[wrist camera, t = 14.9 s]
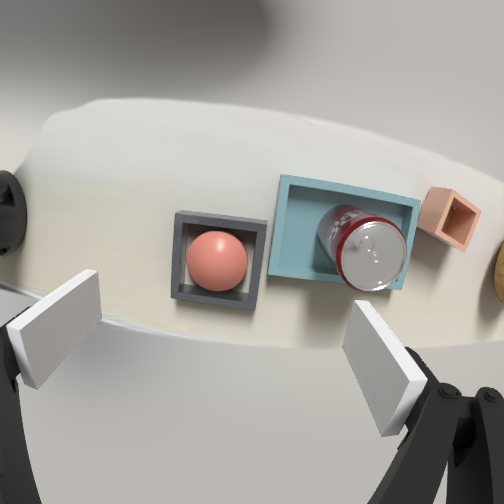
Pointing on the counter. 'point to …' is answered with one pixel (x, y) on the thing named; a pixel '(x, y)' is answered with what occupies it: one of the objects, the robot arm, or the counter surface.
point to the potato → (500, 275)
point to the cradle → (179, 256)
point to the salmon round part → (217, 260)
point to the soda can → (362, 247)
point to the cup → (448, 217)
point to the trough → (308, 218)
